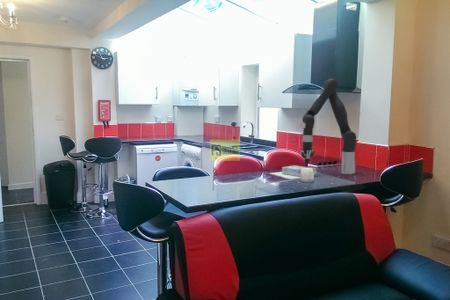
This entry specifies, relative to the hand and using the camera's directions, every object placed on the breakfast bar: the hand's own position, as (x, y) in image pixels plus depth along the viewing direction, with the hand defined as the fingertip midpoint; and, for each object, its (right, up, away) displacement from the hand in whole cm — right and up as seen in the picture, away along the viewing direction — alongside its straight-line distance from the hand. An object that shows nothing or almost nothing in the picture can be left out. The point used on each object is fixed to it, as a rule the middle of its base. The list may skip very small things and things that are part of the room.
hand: (306, 163), depth 284 cm
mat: (-13, -9, -6) cm, 17 cm away
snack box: (-1, -5, -1) cm, 5 cm away
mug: (-6, -11, -28) cm, 31 cm away
